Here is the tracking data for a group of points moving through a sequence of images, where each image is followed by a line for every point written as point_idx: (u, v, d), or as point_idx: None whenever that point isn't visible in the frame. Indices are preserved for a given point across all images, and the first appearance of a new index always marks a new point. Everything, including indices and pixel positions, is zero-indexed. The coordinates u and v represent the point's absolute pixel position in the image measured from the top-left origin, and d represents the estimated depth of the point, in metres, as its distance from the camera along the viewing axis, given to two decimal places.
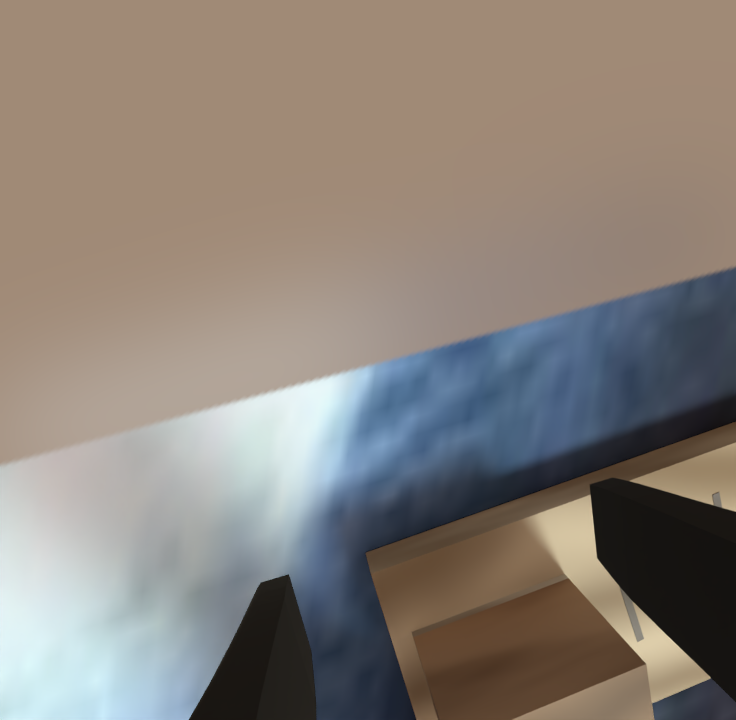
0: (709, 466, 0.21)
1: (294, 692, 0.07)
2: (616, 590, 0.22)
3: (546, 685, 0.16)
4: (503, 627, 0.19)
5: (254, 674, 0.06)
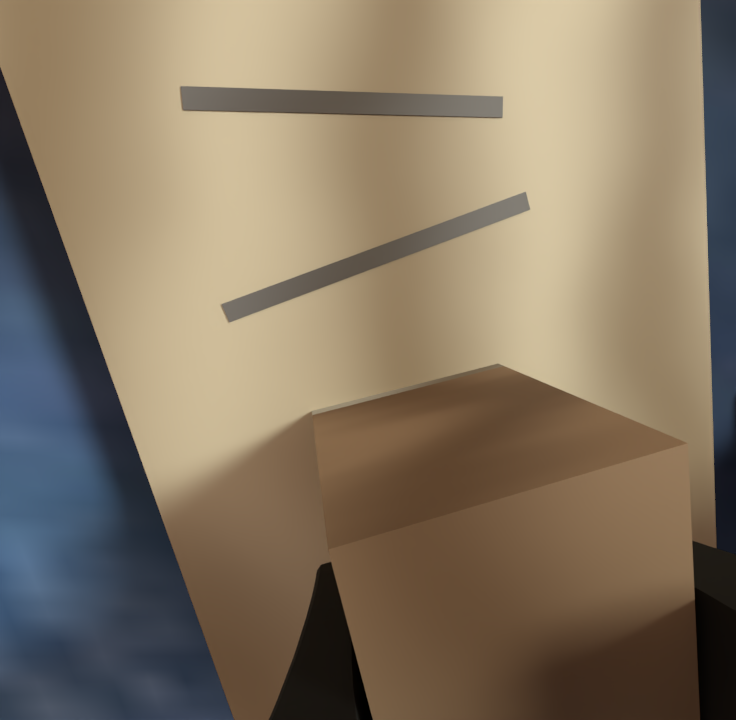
0: None
1: None
2: (378, 276, 0.09)
3: None
4: None
5: (339, 646, 0.06)
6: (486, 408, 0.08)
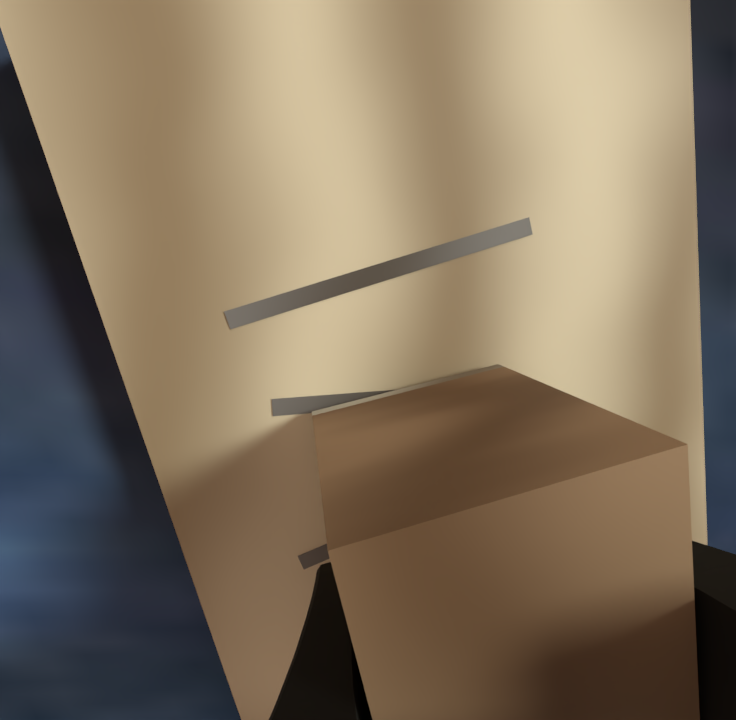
0: (153, 346, 0.09)
1: None
2: None
3: None
4: None
5: (339, 647, 0.06)
6: (486, 408, 0.08)
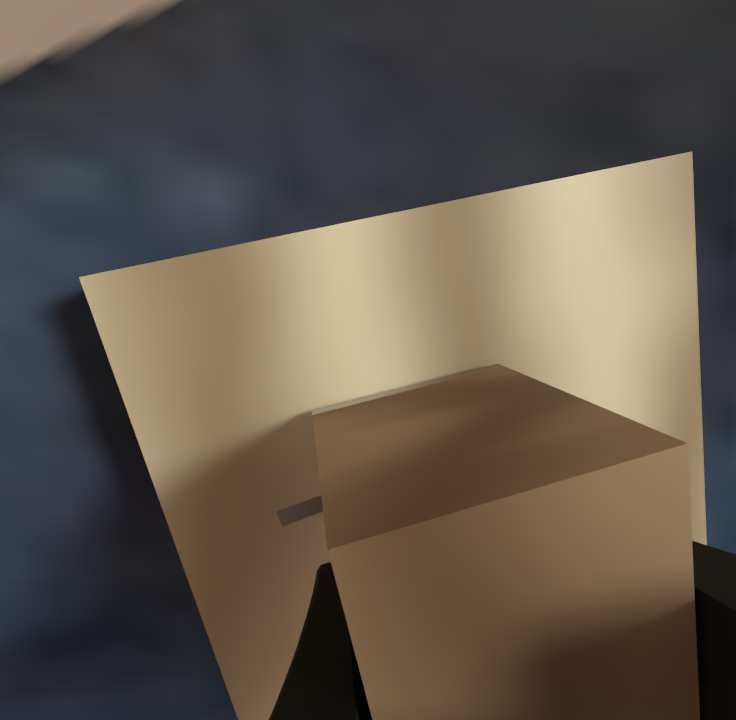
0: (213, 546, 0.10)
1: None
2: None
3: None
4: None
5: (339, 647, 0.06)
6: (486, 408, 0.08)
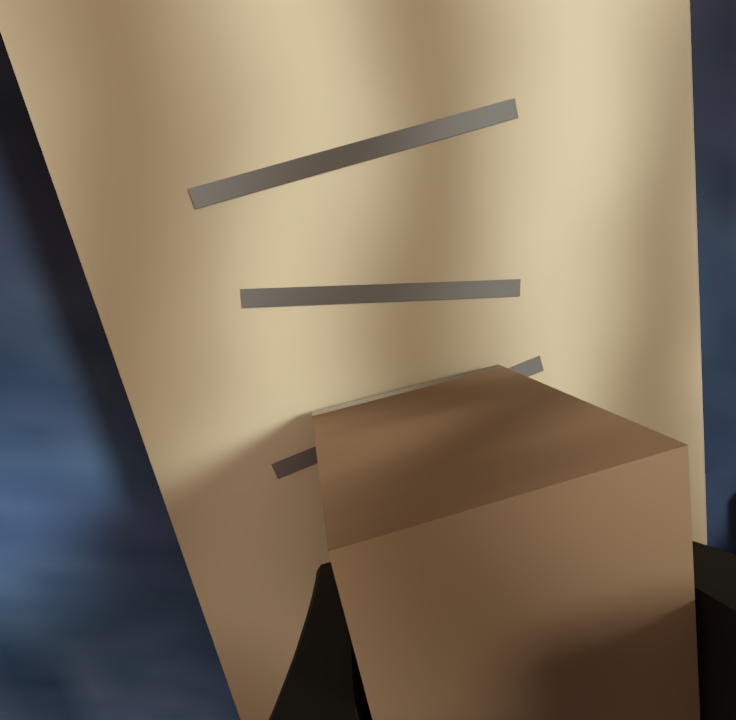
0: (112, 225, 0.08)
1: None
2: None
3: None
4: None
5: (339, 647, 0.06)
6: (486, 409, 0.08)
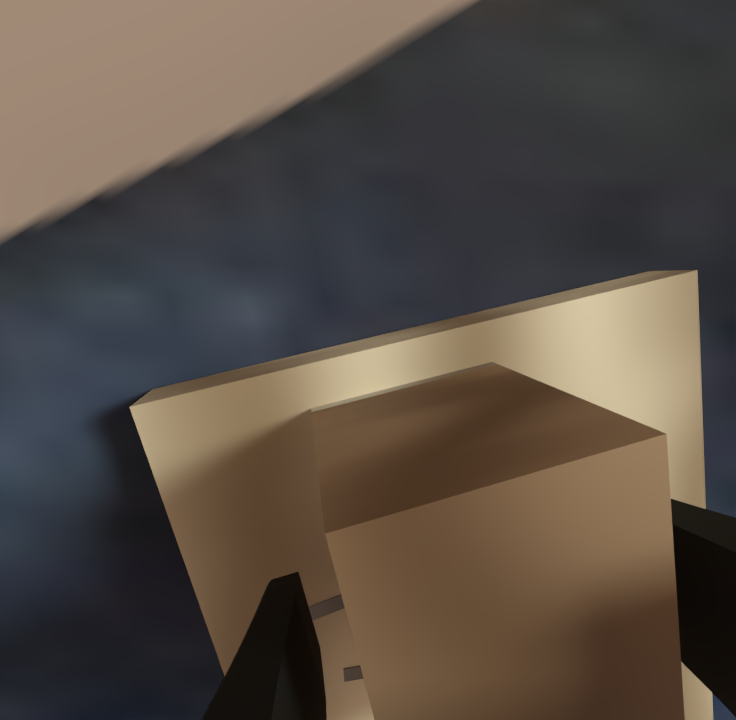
0: None
1: (306, 688, 0.07)
2: None
3: None
4: None
5: (268, 670, 0.06)
6: (478, 403, 0.08)
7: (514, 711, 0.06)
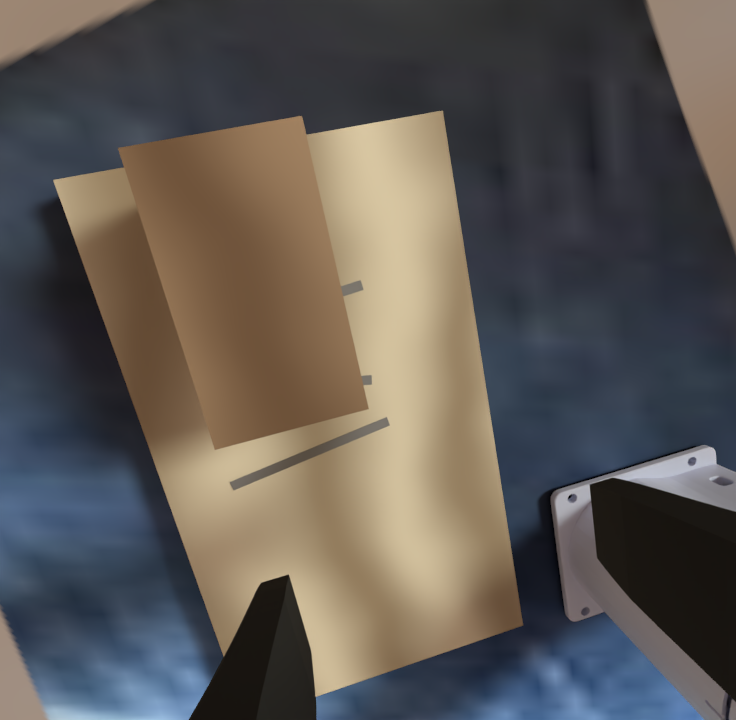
0: (140, 358, 0.16)
1: (294, 692, 0.07)
2: (310, 463, 0.18)
3: None
4: None
5: (254, 674, 0.06)
6: None
7: (236, 274, 0.11)
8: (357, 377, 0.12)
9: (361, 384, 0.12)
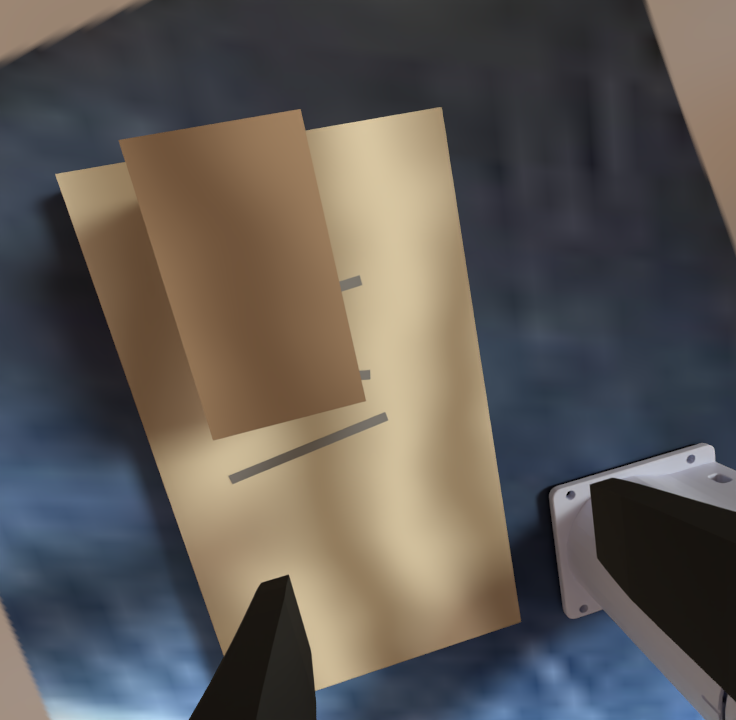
0: (140, 351, 0.16)
1: (294, 692, 0.07)
2: (308, 457, 0.18)
3: None
4: None
5: (254, 674, 0.06)
6: None
7: (234, 266, 0.11)
8: (354, 369, 0.12)
9: (358, 376, 0.12)
